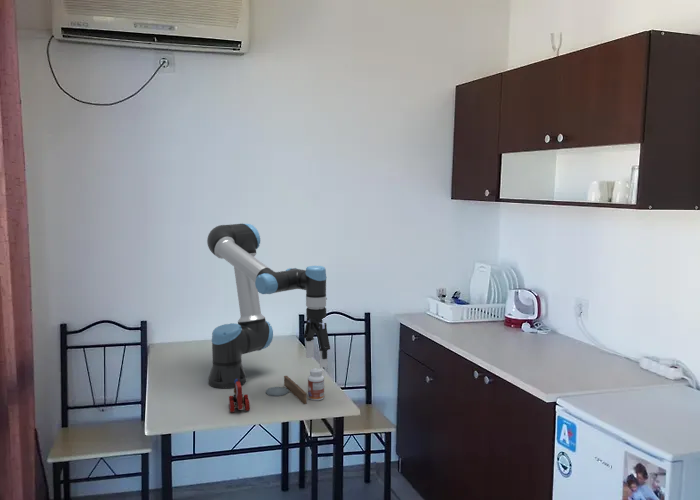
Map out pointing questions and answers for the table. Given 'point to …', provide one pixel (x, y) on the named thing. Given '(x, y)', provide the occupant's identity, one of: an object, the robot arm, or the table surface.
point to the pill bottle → (316, 384)
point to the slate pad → (277, 391)
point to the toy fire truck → (238, 398)
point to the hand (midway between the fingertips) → (316, 362)
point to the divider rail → (295, 389)
